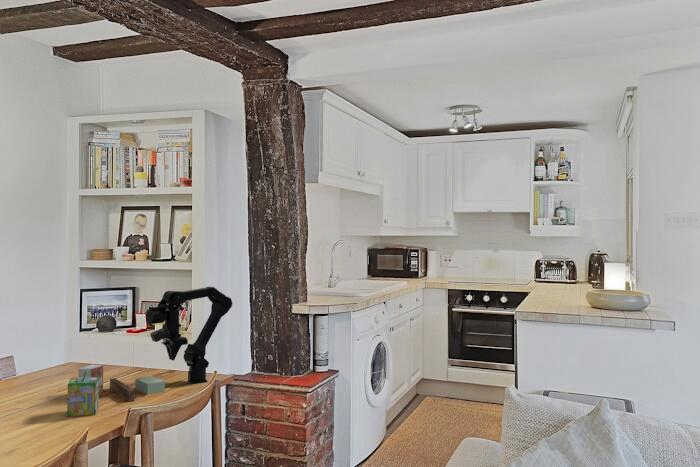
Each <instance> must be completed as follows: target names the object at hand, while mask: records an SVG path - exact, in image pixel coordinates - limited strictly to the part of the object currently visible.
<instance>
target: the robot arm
mask: <svg viewBox="0 0 700 467" xmlns="http://www.w3.org/2000/svg"><path fill="white" fill-rule="evenodd" d="M202 298H208V300H209V301H210V302H211V310H210V314H209V316H208V318H207V320H206V322H205V324H204V325H203V327H202V329H201V331H200V333H199V334H198V336H197V338H196V340H195V341H194V342H193V343H189V340H188V338H187V337H185V336H182V334H181V333H180V327H182V324H181V323H180V311H184V310H185V307H183V306H182V304H184V303H186V302H187V301H191V300H192V301H193V300H196V299H202ZM232 307H233V300H232V298H231V297H229V296H227V295H225V293H223V292H221V291H220V290H219V289H217V288H216V287H214V286H206V287H201V288H196V289H190V290H166V291H165V292H164V294H163V296H162V298H161V300H160V301H159V302H158V305H157V306H148V309H147V311H146V314H145V321H146V323H147V324H148V325H155V324H162V326H161V328H159V329H157V330H154V331H153V332H150V334H149V336H150V338H151V340H152V342H154V343H158V342H160V343H161V344H162V345H164V347H165V348H166V351H167V354H168V358H169V360H171V361H175V359H176V357H177V355H178V353H179V351H180V349H181V347H182V346H185V345H187V346H186V348H185V350H184V351H183V359H184V362H185V363H186V365H187V367H189V368H188V371H187V382H188V383H191V384H193V385H194V384H200V383H201V384H202V383H207V382H208V381H209V380H208V379H207V368H208V367H209V365H210V362H209V361H208V359H206V358H205V356H206V351H207V350H206V347H207V346H208V343H209V341H210V339H211V338H212V336H213V334H214V332H215V330H216V328H217V326H218V325H219V323H220V322H221V319H222V317H224V316H225V315H226V314H227V313H228V312H229V311H230V310H231V308H232ZM161 340H162V341H161Z"/></svg>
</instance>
